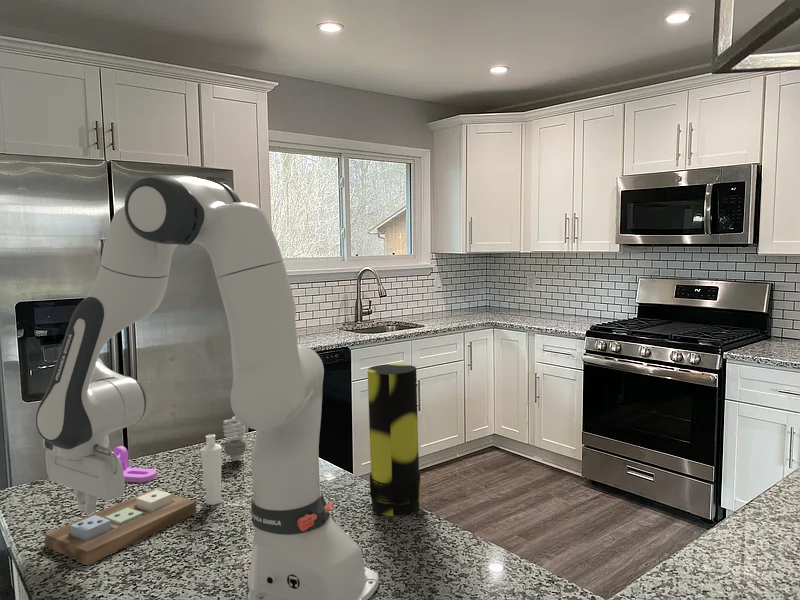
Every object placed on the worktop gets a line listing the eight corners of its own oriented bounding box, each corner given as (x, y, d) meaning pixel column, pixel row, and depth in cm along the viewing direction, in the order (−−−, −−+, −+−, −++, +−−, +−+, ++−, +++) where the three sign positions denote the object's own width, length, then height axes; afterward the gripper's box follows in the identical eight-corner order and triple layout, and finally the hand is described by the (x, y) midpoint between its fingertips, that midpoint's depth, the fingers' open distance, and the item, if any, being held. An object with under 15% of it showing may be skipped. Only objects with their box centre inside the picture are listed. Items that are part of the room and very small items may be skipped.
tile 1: (172, 505, 128) (171, 493, 128) (151, 514, 124) (150, 502, 124) (157, 500, 131) (156, 489, 130) (136, 509, 126) (136, 497, 126)
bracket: (101, 480, 148) (99, 452, 148) (116, 471, 154) (114, 445, 153) (147, 483, 145) (145, 455, 145) (161, 474, 151) (159, 448, 150)
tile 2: (143, 524, 122) (142, 512, 122) (121, 534, 118) (120, 521, 118) (128, 518, 125) (127, 506, 125) (106, 528, 121) (105, 516, 120)
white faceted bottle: (219, 506, 131) (215, 439, 129) (200, 505, 132) (196, 438, 130) (229, 497, 135) (225, 432, 134) (211, 496, 136) (207, 432, 135)
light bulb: (234, 466, 154) (232, 421, 153) (220, 462, 158) (217, 418, 156) (251, 459, 159) (249, 415, 158) (236, 456, 162) (234, 413, 161)
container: (431, 504, 129) (428, 367, 126) (397, 522, 121) (393, 376, 118) (394, 491, 136) (390, 361, 133) (360, 508, 128) (355, 370, 125)
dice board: (196, 512, 128) (195, 501, 128) (87, 565, 108) (86, 551, 107) (154, 499, 135) (154, 488, 135) (46, 546, 115) (44, 533, 115)
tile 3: (111, 532, 116) (110, 519, 116) (86, 544, 112) (85, 530, 112) (96, 527, 119) (95, 514, 119) (71, 537, 115) (70, 524, 114)
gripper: (131, 445, 111) (136, 517, 112) (69, 429, 122) (74, 494, 123) (99, 455, 106) (104, 530, 107) (37, 437, 116) (42, 506, 117)
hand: (87, 511), depth 115 cm, fingers closed
